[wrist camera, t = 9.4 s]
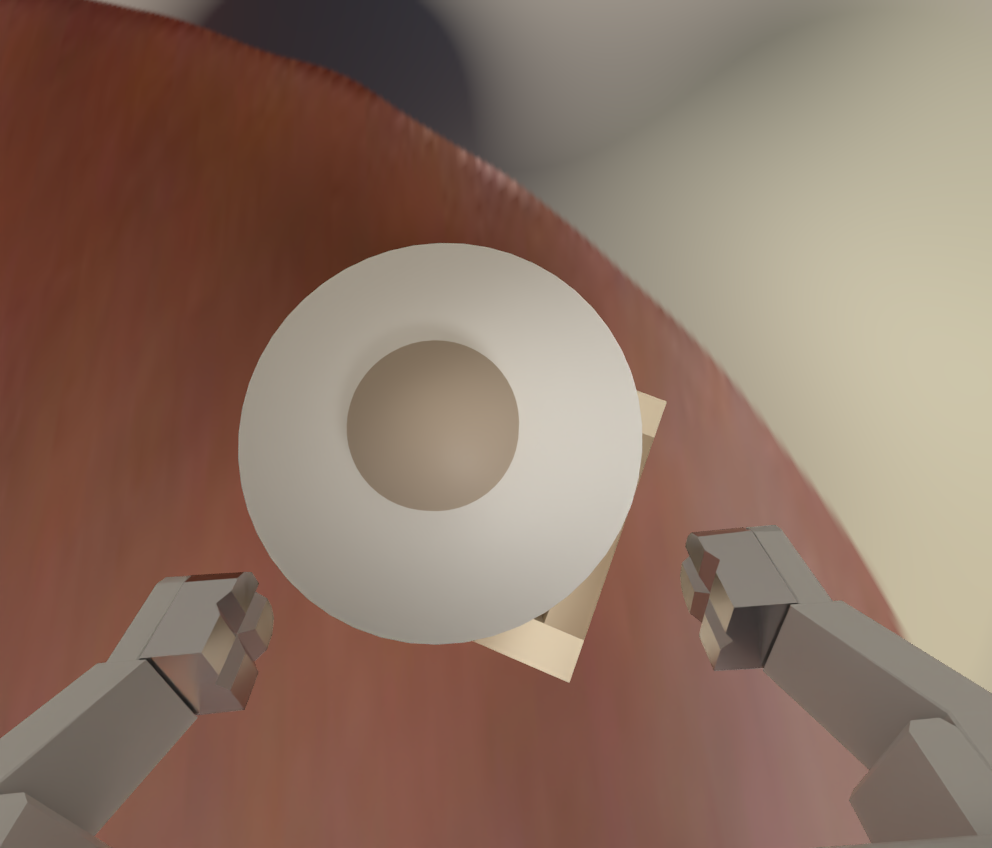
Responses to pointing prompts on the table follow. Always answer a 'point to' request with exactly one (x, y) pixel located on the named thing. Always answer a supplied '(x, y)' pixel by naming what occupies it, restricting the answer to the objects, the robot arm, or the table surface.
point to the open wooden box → (571, 595)
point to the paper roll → (440, 443)
